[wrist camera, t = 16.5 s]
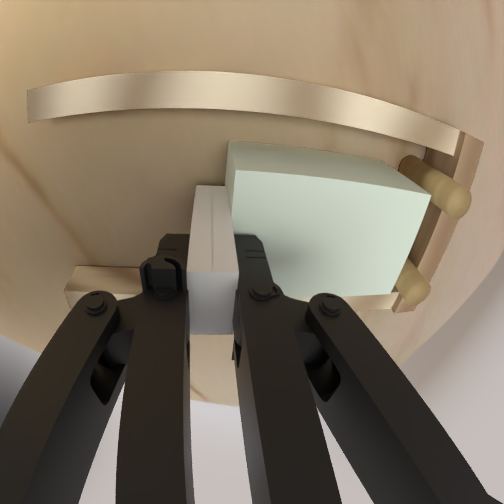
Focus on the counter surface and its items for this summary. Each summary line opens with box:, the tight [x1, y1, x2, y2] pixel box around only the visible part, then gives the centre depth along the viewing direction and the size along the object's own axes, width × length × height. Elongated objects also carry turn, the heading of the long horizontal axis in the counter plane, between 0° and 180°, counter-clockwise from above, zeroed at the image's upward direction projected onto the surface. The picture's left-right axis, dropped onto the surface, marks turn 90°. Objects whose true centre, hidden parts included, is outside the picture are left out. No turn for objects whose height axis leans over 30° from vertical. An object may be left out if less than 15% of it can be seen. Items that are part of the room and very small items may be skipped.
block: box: [225, 141, 431, 298], centre depth 14 cm, size 9×6×5 cm, turn 83°
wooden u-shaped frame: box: [27, 71, 484, 313], centre depth 14 cm, size 24×13×5 cm, turn 84°
